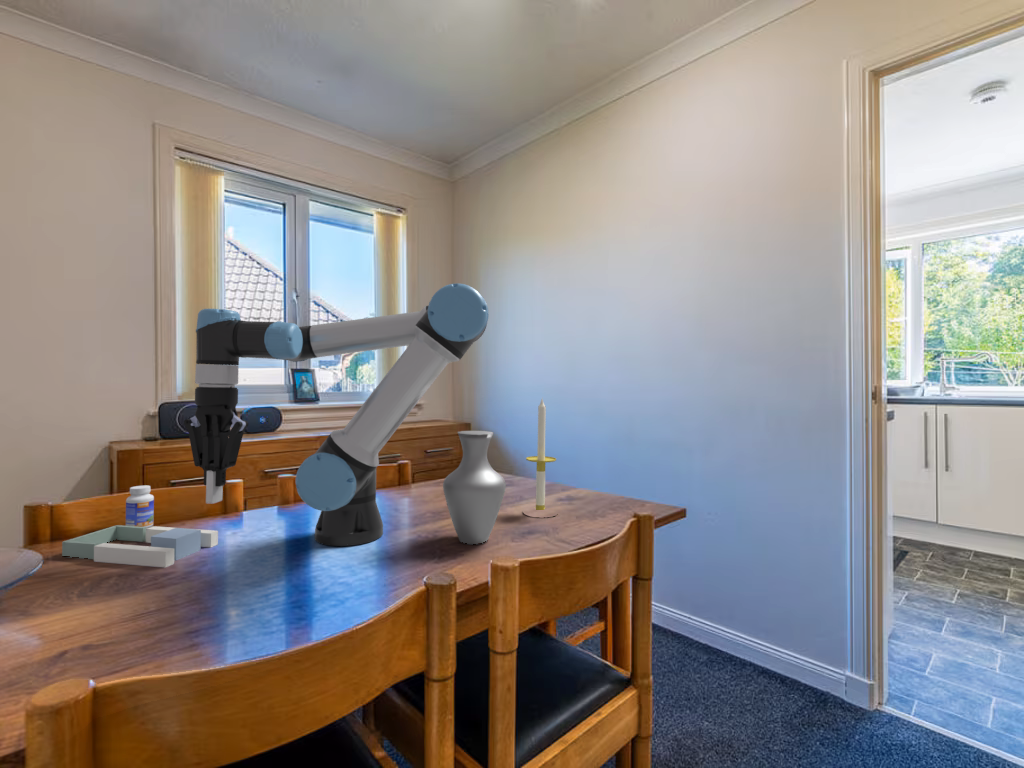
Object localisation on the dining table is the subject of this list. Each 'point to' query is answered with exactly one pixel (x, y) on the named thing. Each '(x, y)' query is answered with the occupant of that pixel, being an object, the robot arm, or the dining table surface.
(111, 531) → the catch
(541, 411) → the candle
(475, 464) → the vase
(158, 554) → the chute
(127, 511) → the pill bottle
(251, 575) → the dining table surface
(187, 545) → the block
